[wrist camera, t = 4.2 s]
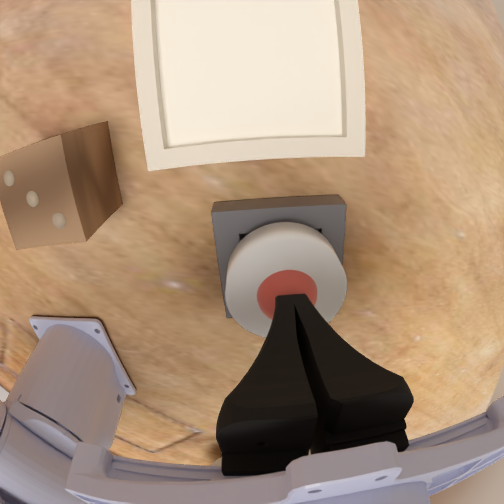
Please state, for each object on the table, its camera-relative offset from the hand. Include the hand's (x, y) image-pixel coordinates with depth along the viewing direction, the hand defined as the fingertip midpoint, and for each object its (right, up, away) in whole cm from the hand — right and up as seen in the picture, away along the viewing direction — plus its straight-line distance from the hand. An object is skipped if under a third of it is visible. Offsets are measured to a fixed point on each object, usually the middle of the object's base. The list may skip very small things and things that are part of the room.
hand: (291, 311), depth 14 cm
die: (-12, +8, +2) cm, 14 cm away
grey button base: (0, +3, +5) cm, 6 cm away
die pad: (-2, +13, -1) cm, 13 cm away
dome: (0, +2, +4) cm, 5 cm away
